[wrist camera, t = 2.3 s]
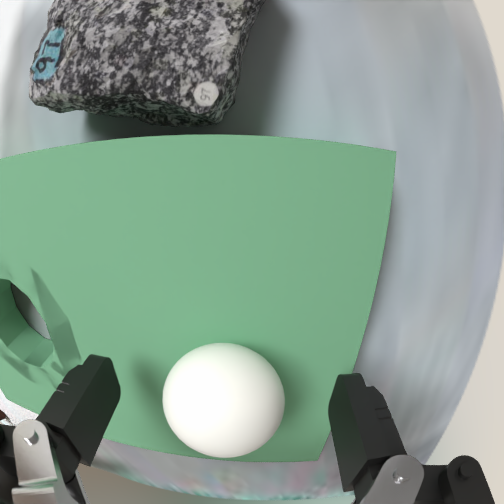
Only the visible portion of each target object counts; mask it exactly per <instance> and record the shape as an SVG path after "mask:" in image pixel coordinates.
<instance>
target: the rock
mask: <svg viewBox="0 0 504 504" xmlns="http://www.w3.org/2000/svg"><path fill="white" fill-rule="evenodd" d="M264 2H265V0H54V2H53V4H52V5H51V7H50V9H49V11H48V23H47V30H46V32H45V33H44V36H43V37H42V39H41V41H40V44H39V47H38V50H37V51H36V52H35V55H34V60H33V63H32V65H31V68H30V83H29V98H30V99H31V100H32V101H33V103H34V104H35V105H38V106H43V107H47V108H48V109H49V110H51V111H55V112H58V113H64V112H69V111H74V110H85V111H87V112H89V113H93V114H98V115H106V114H108V115H110V116H114V117H119V116H129V117H133V118H134V117H138V118H139V119H140V120H141V121H144V122H147V123H149V124H151V125H153V124H160V125H164V126H174V127H177V126H189V127H198V126H205V125H212V124H217V123H219V122H220V121H221V120H222V118H223V115H224V113H225V112H226V111H227V110H228V109H229V108H230V107H231V106H232V105H233V104H234V103H235V91H236V89H237V86H238V82H239V78H240V70H241V58H242V55H243V53H244V50H245V47H246V44H247V41H248V36H249V31H250V28H251V27H252V25H253V23H254V22H255V20H256V18H257V15H258V13H259V10H260V7H261V5H262V4H263V3H264Z"/></svg>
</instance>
